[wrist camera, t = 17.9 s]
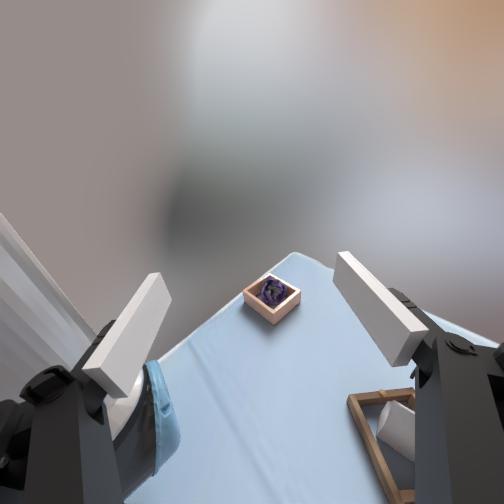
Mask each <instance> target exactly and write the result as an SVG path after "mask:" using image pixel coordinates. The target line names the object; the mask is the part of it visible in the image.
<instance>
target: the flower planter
mask: <svg viewBox="0 0 504 504" xmlns="http://www.w3.org/2000/svg"><path fill="white" fill-rule="evenodd" d="M267 278H273V279H278V280H280V281H279V283H282V284H284V285H285V286H286V287H287V293H286V294H285V295H286V296H288V298H287V299H286V300H285V301H284V302H282V303H281V304H280V305H279V306H278V307H276V308H275V309H274V310H272V309H271V308H270V307H268V306H267V305H266V304H264V303H263V302H262V301H260V300H259V299H258V298H256V297H255V296H257V295H258V294H259V293H261V291H262V289H263V285H262V284H263V282H264V281H265V280H266V279H267ZM243 296H244V302H246V303H247V304H248V305H249V306H251V307H252V308H253V309H254V310H256V311H257V312H258V313H259V314H260V315H262V316H263V317H264V318H265V319H267V320H268V321H269V322H270V323H272V324H273V325H275V324H276V323H277V322H279V321H280V320H281V319H282V318H283V317H284V316H285V315H286V314H287V313H289V312H290V311H291V310H292V309H293V308H294V307H295V306H296V305H297V304H299V303H300V302H301V290H299V289H297V288H296V287H294V286H292V285H290V284H289V283H287V282H285V281H283V280H281V279H280V278H278V277H276V276H274V275H272V274H271V273H269V274H267V275H266V276H264V277H263V278H261V279H260V280H258V281H257V282H255V283H254V284H252V285H250V286H249V287H247V288H246V289H244V290H243Z"/></svg>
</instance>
